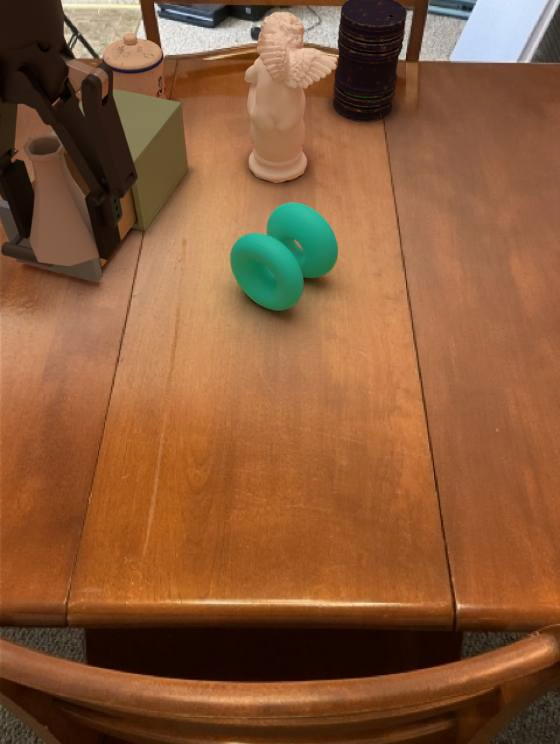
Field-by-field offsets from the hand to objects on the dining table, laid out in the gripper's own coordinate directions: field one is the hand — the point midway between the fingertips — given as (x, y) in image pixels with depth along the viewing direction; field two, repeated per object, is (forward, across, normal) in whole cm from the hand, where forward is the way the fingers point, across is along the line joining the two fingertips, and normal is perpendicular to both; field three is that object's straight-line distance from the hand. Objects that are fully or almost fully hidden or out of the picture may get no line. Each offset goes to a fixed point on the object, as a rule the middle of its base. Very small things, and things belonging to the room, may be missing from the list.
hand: (70, 238), depth 62 cm
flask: (+1, 0, 0) cm, 1 cm away
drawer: (+18, -12, +15) cm, 26 cm away
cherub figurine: (+19, +8, +42) cm, 46 cm away
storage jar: (+19, +13, +63) cm, 67 cm away
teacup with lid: (+19, -20, +50) cm, 58 cm away
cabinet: (+19, -12, +30) cm, 37 cm away
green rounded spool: (+19, +15, +19) cm, 30 cm away
